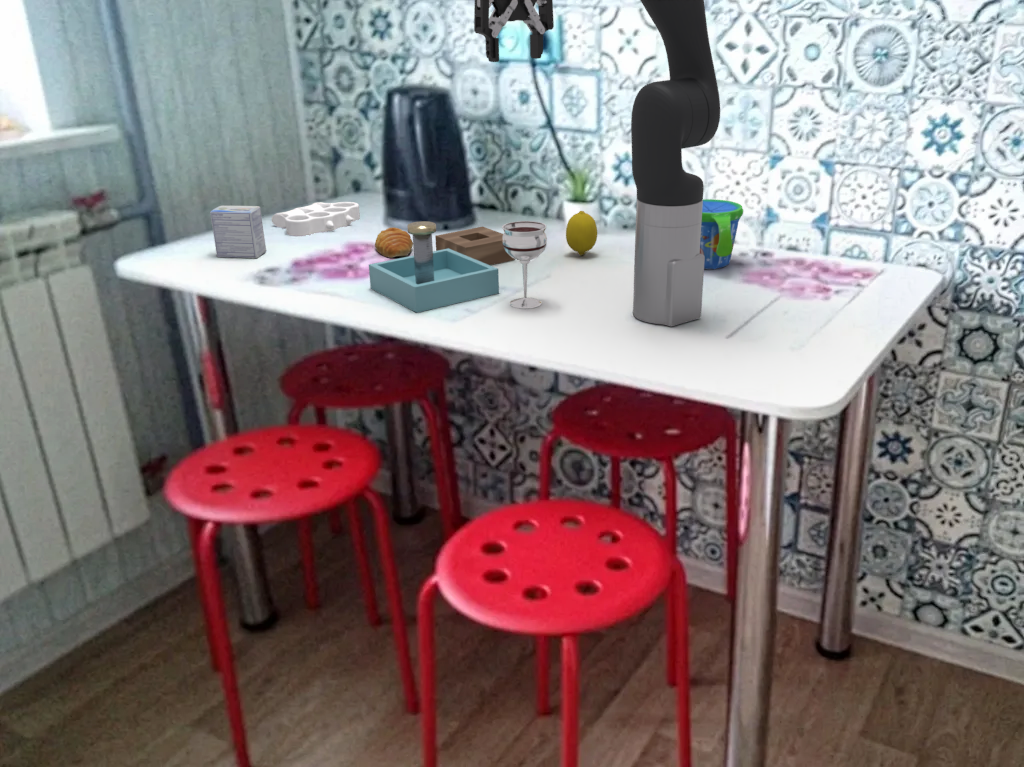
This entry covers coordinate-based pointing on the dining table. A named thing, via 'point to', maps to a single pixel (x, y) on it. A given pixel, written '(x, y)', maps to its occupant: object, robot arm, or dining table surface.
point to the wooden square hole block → (475, 244)
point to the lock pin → (423, 250)
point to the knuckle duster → (317, 218)
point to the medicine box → (238, 231)
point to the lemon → (581, 232)
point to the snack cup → (718, 231)
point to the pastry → (393, 243)
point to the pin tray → (450, 286)
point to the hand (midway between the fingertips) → (515, 59)
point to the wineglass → (524, 251)
